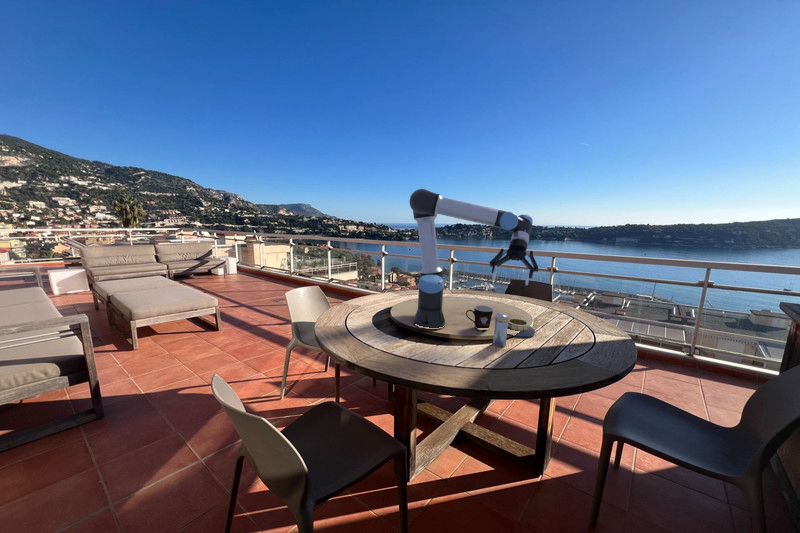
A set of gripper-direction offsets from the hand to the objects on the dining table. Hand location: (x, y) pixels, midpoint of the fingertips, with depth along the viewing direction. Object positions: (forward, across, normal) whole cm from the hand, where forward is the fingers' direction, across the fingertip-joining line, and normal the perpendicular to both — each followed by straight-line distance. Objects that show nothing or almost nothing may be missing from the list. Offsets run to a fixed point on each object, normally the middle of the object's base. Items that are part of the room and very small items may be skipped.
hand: (509, 281), depth 124 cm
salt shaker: (+24, 0, -12) cm, 27 cm away
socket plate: (+10, -3, -26) cm, 28 cm away
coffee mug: (+15, +13, -21) cm, 29 cm away
